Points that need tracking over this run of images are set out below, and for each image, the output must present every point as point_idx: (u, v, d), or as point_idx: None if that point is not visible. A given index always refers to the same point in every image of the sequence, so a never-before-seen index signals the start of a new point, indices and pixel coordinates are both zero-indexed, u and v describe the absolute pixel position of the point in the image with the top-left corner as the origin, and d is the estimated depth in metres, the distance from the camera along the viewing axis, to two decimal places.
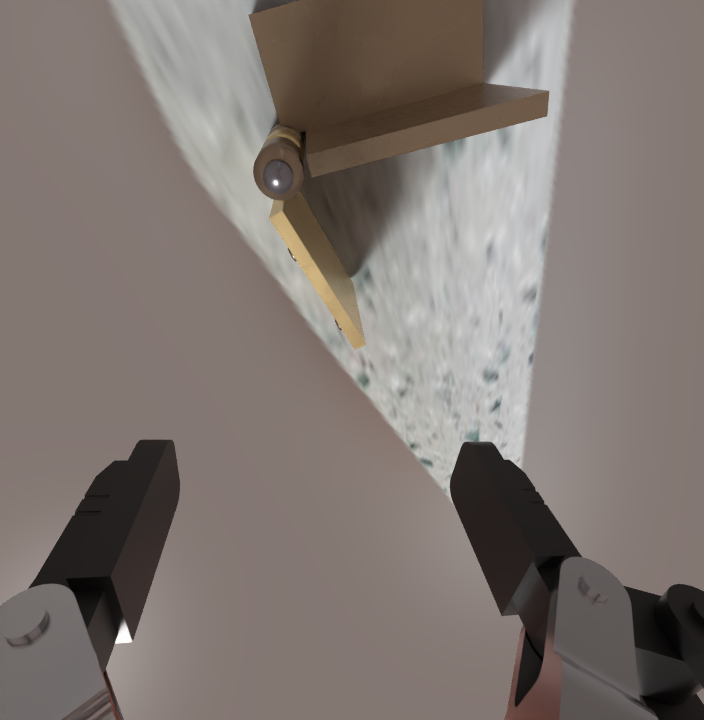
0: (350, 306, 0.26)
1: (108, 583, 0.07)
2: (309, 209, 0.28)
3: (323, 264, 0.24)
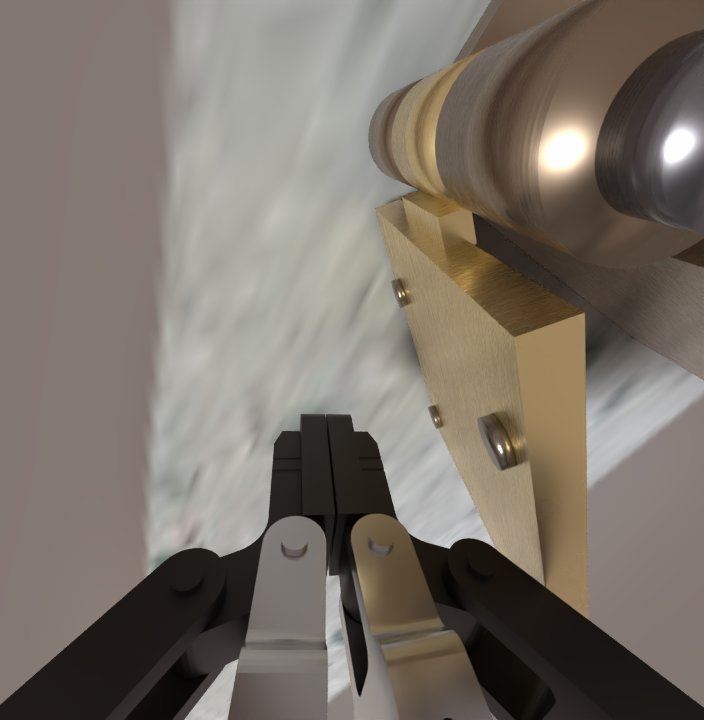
0: None
1: (329, 521, 0.08)
2: None
3: None
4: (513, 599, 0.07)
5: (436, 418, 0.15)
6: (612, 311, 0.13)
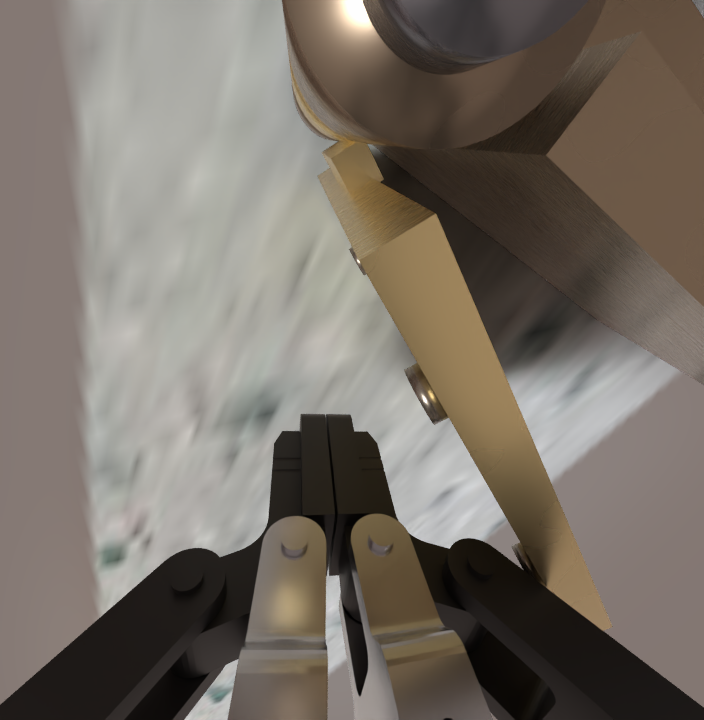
0: None
1: (329, 521, 0.08)
2: None
3: None
4: (513, 599, 0.07)
5: None
6: (561, 283, 0.12)
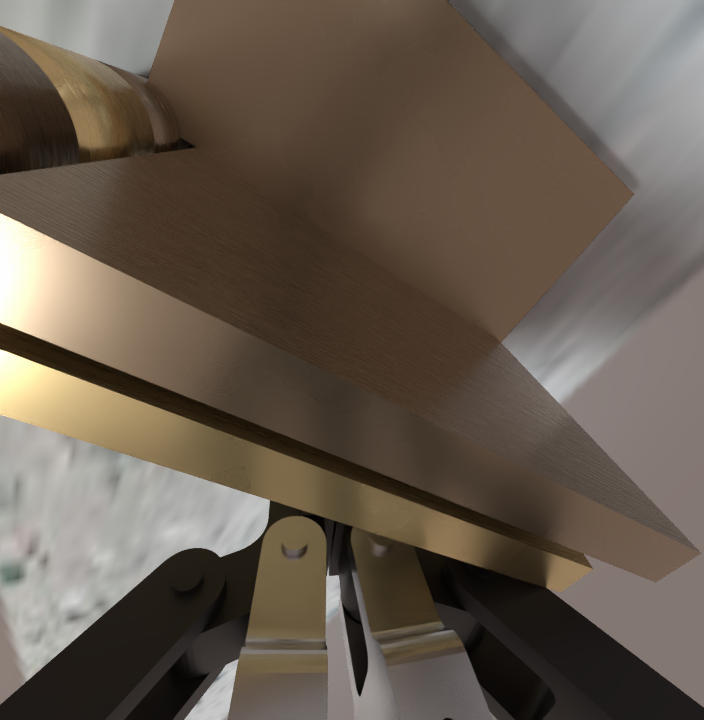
0: None
1: (329, 520, 0.08)
2: None
3: None
4: (513, 599, 0.07)
5: None
6: None
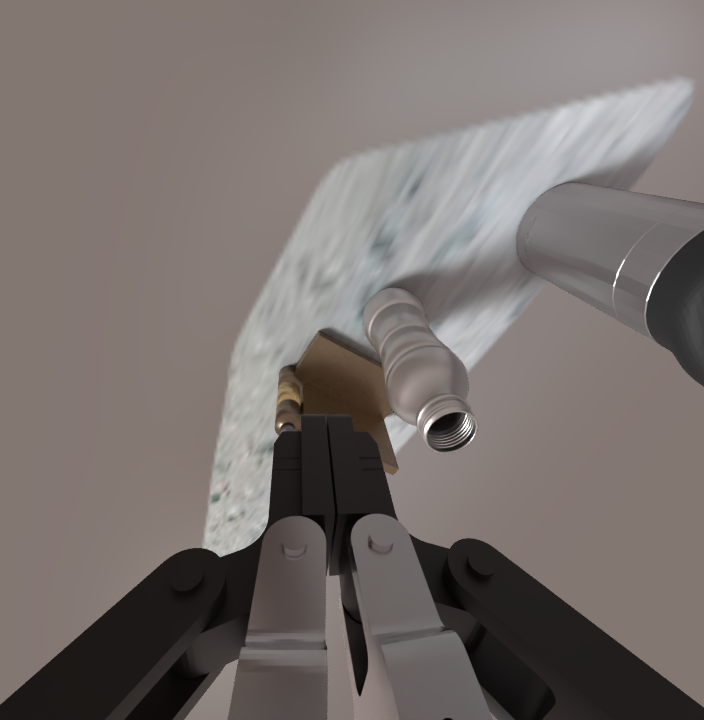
0: None
1: (329, 521, 0.08)
2: None
3: None
4: (513, 599, 0.07)
5: None
6: None
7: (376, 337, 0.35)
